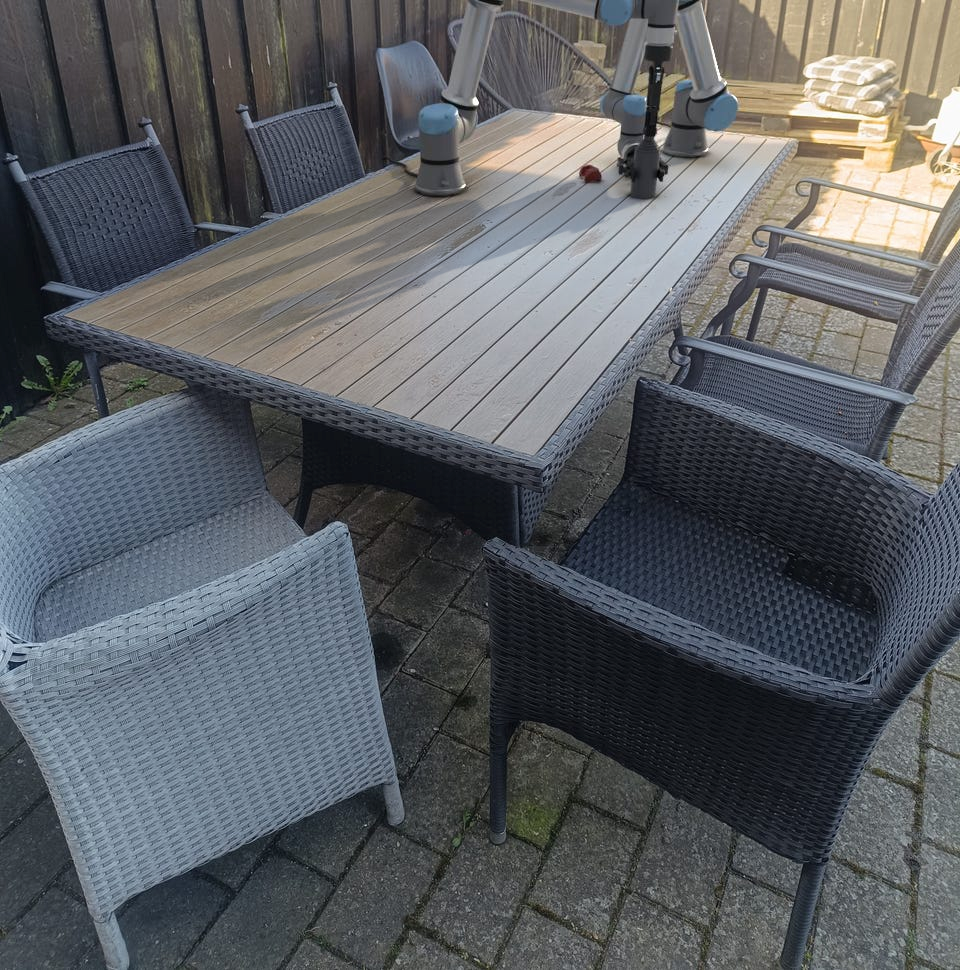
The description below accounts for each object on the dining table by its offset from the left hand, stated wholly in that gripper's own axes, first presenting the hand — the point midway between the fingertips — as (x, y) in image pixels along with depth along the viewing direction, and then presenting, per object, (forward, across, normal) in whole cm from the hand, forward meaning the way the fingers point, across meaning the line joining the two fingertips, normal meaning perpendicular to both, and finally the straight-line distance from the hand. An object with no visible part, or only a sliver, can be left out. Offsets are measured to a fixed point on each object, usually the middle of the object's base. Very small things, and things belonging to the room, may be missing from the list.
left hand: (649, 133), depth 244 cm
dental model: (+18, +15, +16) cm, 28 cm away
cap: (-1, 0, 0) cm, 1 cm away
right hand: (+11, -5, 0) cm, 12 cm away
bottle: (+18, 0, 0) cm, 18 cm away
